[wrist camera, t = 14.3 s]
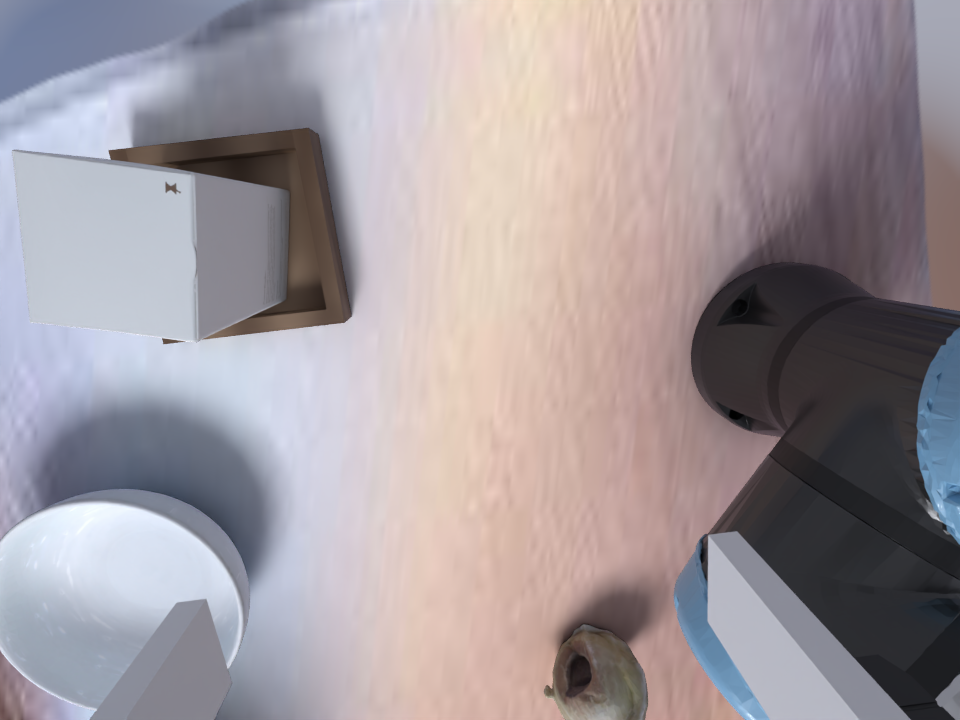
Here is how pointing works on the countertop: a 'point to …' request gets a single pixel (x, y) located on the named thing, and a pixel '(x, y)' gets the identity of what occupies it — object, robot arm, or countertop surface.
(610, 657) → the greenish lumpy pot
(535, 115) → the countertop surface
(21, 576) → the serving bowl
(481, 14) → the countertop surface
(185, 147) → the brown wooden tray
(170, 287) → the supplement box
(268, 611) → the countertop surface
